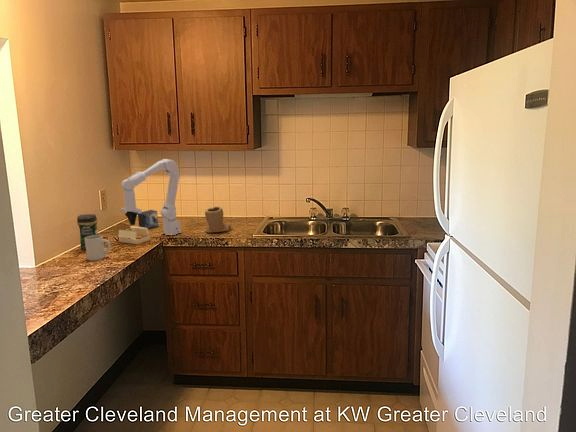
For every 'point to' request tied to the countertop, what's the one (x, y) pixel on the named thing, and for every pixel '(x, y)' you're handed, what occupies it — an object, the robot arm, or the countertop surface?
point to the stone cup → (216, 220)
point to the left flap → (127, 234)
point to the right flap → (140, 230)
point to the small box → (148, 219)
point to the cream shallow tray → (135, 241)
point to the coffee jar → (87, 227)
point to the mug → (96, 247)
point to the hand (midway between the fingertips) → (132, 224)
